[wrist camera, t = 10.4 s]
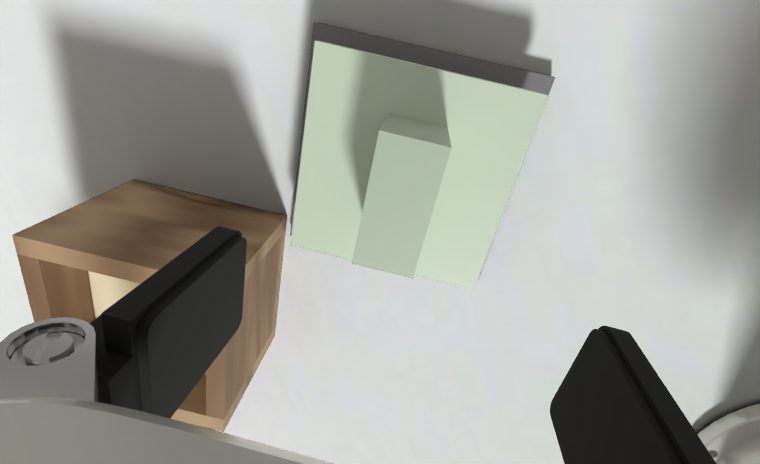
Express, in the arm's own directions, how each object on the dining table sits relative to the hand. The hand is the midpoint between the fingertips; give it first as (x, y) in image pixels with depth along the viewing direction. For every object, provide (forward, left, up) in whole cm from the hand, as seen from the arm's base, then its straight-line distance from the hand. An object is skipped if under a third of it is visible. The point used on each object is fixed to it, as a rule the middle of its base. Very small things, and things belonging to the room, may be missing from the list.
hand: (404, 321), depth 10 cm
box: (+12, +10, -13) cm, 21 cm away
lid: (+1, 0, -13) cm, 13 cm away
